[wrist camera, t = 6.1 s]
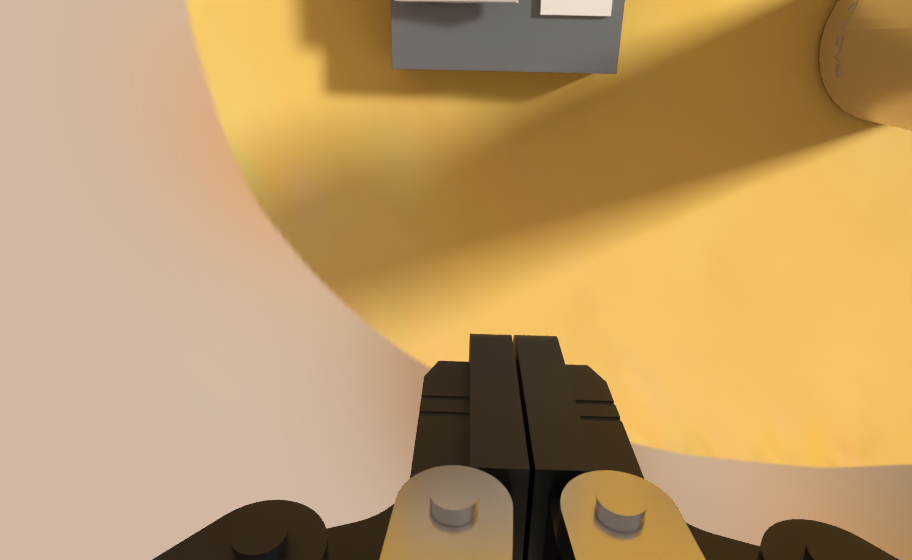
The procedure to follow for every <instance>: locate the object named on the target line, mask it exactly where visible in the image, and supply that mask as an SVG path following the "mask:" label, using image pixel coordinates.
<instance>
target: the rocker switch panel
mask: <svg viewBox="0 0 912 560" xmlns="http://www.w3.org/2000/svg"><path fill="white" fill-rule="evenodd" d="M624 2H625V0H519V3H444V2H399V1H395V0H391V30H392V69H430V70H473V71H516V72H558V73H601V74H616V72H617V63H618V55H619V46H620V37H621V28H622V19H623V11H624Z"/></svg>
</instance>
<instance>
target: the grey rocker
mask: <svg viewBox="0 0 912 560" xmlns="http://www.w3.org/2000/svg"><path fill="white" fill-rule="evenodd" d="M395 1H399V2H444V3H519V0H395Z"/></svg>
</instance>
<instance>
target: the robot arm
mask: <svg viewBox="0 0 912 560" xmlns="http://www.w3.org/2000/svg"><path fill="white" fill-rule="evenodd" d="M819 64H820V74H821V77H822V80H823V84H824V87H825V89H826V91H827V92H828V94H829V96H830V97H831V99H832V100H833V102H834V103H836V104H837V105H838V106H839V107H840V108H841V109H842V110H843V111H844V112H846V113H848V114H850V115H852V116H854V117H856V118H858V119H862V120H867V121H871V122H875V123H880V124H884V125H889V126H894V127H898V128H903V129H906V130H911V131H912V0H839V1H838V2H837V3H836V5H835V7H834V9H833V11H832V13H831V14H830V16H829V18H828V20H827V23H826V26H825V29H824V32H823V35H822V38H821V44H820V52H819ZM153 560H899V559H897V558H895V557H893V556H891V555H890V554H888V553H886V552H885V551H883V550H881V549H879V548H878V547H876V546H874V545H872V544H871V543H869V542H867V541H865V540H864V539H862V538H860V537H858V536H856V535H854V534H852V533H850V532H848V531H846V530H843V529H841V528H838V527H836V526H832V525H829V524H826V523H822V522H817V521H812V520H803V519H792V520H785V521H782V522H779V523H776V524H774V525H773V526H771V527H769V529H768V530H767V531H766V532H765V533H764V536H763V538H762V541H761V545H760V546H756V545H752V544H749V543H745V542H741V541H737V540H734V539H730V538H727V537H723V536H719V535H715V534H712V533H709V532H706V531H703V530H700V529H698V528H696V527H693V526H691V525H689V524H687V523H686V522H685V521H684V519H683V517H682V515H681V513H680V511H679V509H678V508H677V506H676V505H675V503H674V502H673V500H672V499H671V498H670V497H669V496H668V495H667V494H666V493H665V492H663V491H662V490H661V489H660V488H658V487H657V486H655V485H654V484H652V483H651V482H649V481H646V480H645V479H644V477H643V475H642V472H641V470H640V467H639V464H638V462H637V459H636V457H635V454H634V451H633V449H632V446H631V444H630V441H629V439H628V436H627V434H626V431H625V429H624V426H623V423H622V421H620V416H619V413H618V411H617V408H616V406H615V405H614V401H613V398H612V395H611V393H610V390H609V388H608V385H607V383H606V381H605V380H603V379H602V378H601V377H600V376H599V375H598V374H597V373H596V372H594V371H593V370H592V369H591V368H590V367H589V366H588V365H565V362H564V359H563V355H562V352H561V348H560V345H559V341H558V338H557V337H556V336H530V335H514V339H513V342H512V336H511V335H491V334H470V344H469V362H456V361H438V362H437V363H436V364H435V366H434V367H433V368H432V369H431V370H430V371H429V372H428V373H427V374H426V375H425V376H424V382H423V389H422V399H421V404H420V412H419V419H418V425H417V433H416V440H415V447H414V454H413V461H412V469H411V476H410V479H409V480H408V481H407V482H406V483H405V484H404V485H403V486H402V488H401V489H400V491H399V492H398V495H397V497H396V500H395V504H393V505H392V506H391V507H389V508H388V509H387V510H385V511H383V512H381V513H380V514H378V515H376V516H373V517H371V518H368V519H365V520H362V521H358V522H355V523H350V524H346V525H341V526H337V527H332V528H328V529H326V527H325V525H324V522H323V521H322V519H321V518H320V516H319V515H318V514H317V513H316V512H315V511H314V510H312V509H310V508H309V507H307V506H305V505H302V504H300V503H297V502H292V501H286V500H267V501H262V502H256V503H252V504H249V505H246V506H243V507H241V508H238V509H236V510H234V511H232V512H230V513H228V514H226V515H225V516H223V517H221V518H220V519H218V520H216V521H215V522H213V523H212V524H210V525H208V526H207V527H205V528H203V529H202V530H200V531H199V532H197V533H195V534H193V535H192V536H190V537H189V538H187V539H185V540H184V541H182V542H180V543H179V544H177V545H175V546H174V547H172V548H171V549H169V550H167V551H166V552H164V553H162V554H161V555H159V556H158V557H156V558H154V559H153Z"/></svg>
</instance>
